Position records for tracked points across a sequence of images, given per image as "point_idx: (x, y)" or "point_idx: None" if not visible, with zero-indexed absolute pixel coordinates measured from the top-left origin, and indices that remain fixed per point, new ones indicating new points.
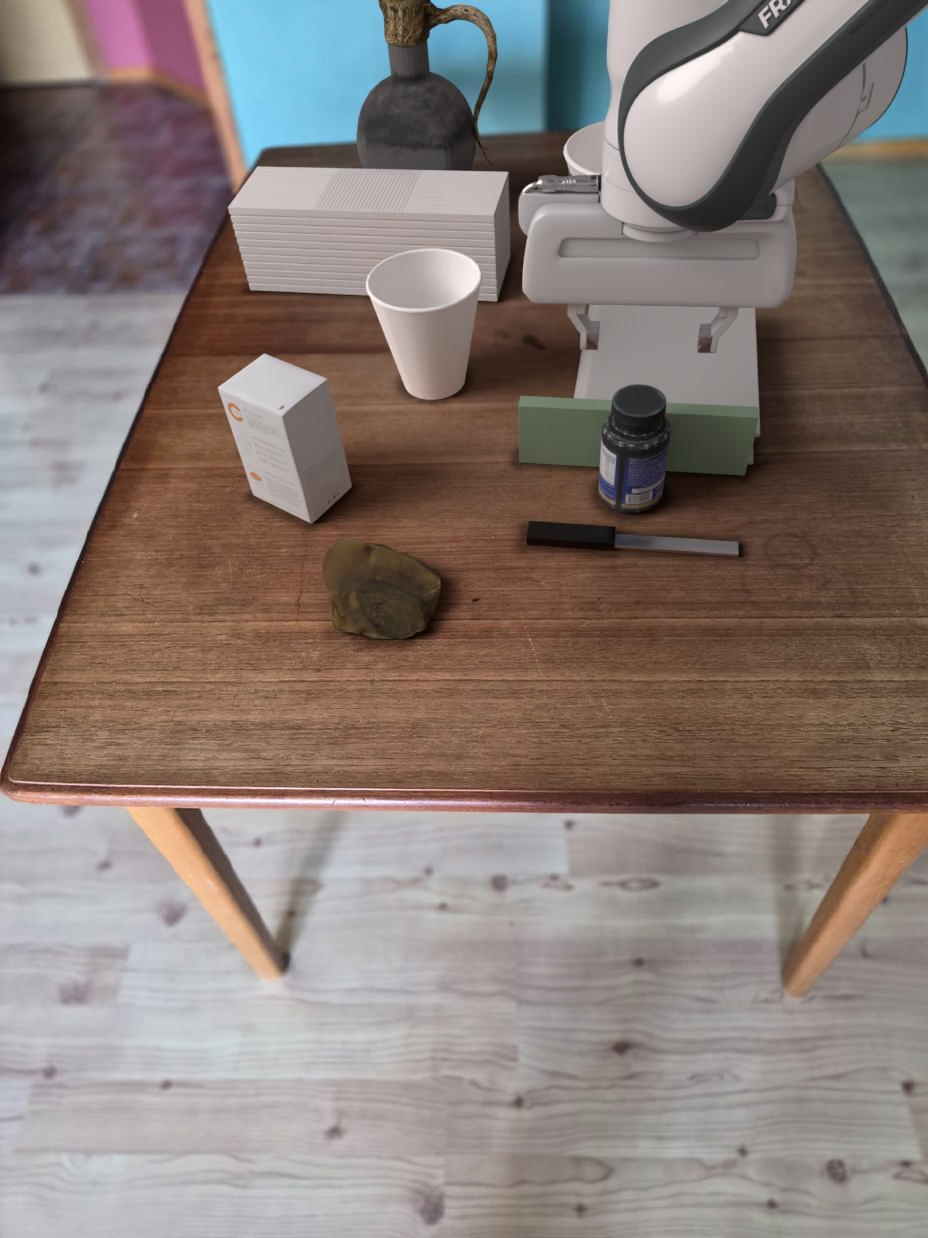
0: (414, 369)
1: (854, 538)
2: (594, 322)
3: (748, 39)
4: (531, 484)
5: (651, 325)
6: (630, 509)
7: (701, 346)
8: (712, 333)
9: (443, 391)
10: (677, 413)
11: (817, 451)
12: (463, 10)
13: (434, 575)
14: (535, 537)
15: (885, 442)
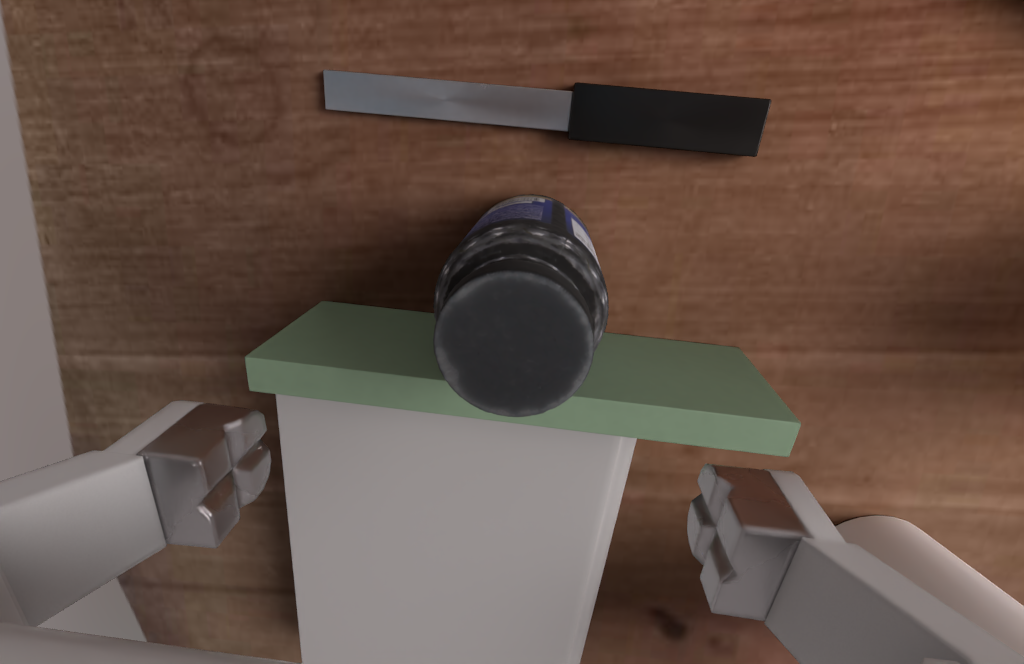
0: (972, 572)
1: (124, 132)
2: (741, 606)
3: None
4: (723, 287)
5: (472, 634)
6: (533, 195)
7: (224, 423)
8: (127, 465)
9: (869, 528)
10: (420, 377)
11: (207, 355)
12: None
13: None
14: (751, 98)
15: (106, 371)
